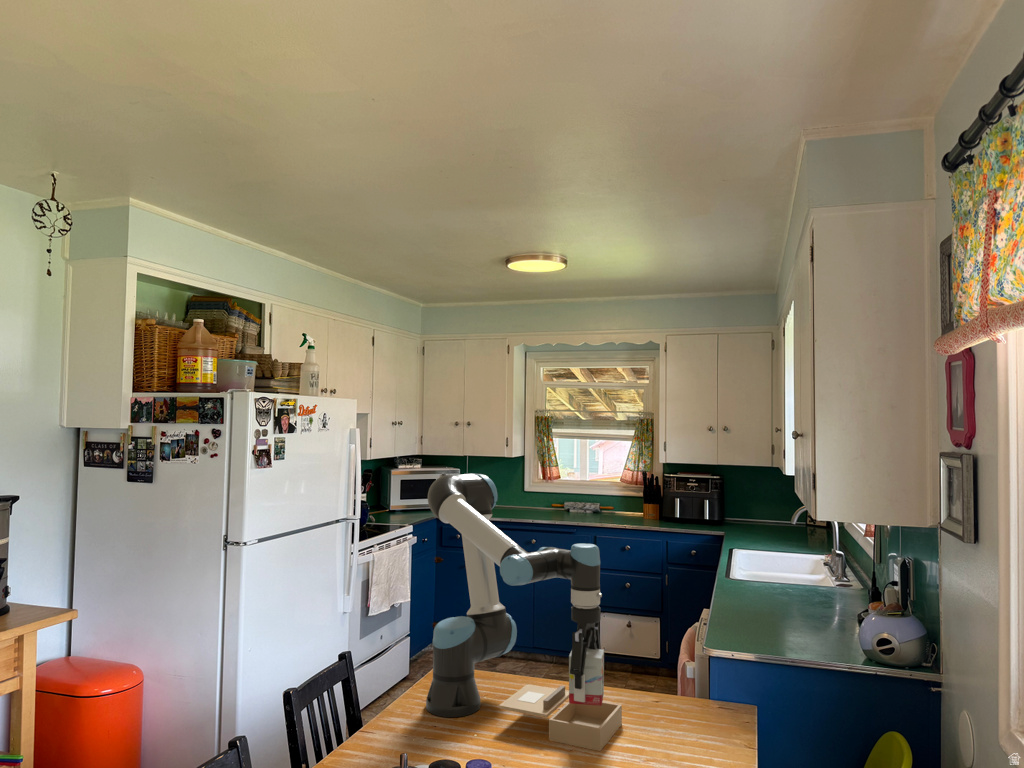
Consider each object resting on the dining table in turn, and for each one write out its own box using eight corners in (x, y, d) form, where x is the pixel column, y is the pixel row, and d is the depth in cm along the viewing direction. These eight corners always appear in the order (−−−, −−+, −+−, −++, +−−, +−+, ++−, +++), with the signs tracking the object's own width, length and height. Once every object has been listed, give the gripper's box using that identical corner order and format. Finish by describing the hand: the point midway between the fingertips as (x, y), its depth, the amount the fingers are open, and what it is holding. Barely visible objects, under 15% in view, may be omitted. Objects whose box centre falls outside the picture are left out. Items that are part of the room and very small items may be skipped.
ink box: (602, 706, 173) (601, 657, 174) (568, 703, 175) (567, 655, 176) (604, 694, 181) (604, 647, 182) (572, 691, 183) (571, 645, 184)
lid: (499, 708, 179) (499, 696, 180) (527, 686, 195) (527, 675, 195) (546, 717, 173) (546, 705, 174) (572, 694, 189) (571, 683, 189)
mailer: (548, 740, 173) (548, 719, 173) (574, 715, 188) (574, 696, 189) (600, 751, 167) (600, 729, 167) (621, 724, 182) (621, 704, 183)
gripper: (584, 616, 168) (585, 711, 167) (613, 597, 188) (614, 683, 187) (556, 613, 172) (556, 706, 170) (586, 595, 192) (587, 678, 190)
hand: (586, 694), depth 178 cm, fingers closed on ink box, 10 cm apart
